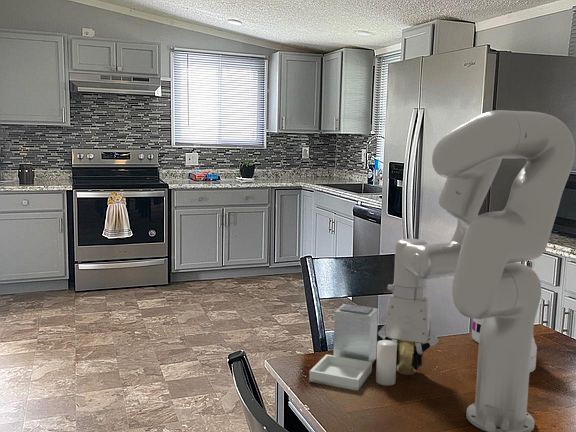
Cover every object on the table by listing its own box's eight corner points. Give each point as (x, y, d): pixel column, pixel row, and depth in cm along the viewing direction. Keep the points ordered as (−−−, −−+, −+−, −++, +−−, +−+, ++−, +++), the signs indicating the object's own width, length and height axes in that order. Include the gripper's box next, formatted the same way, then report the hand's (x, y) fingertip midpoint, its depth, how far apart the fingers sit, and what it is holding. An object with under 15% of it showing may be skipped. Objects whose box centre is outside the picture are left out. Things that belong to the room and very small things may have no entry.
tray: (357, 390, 126) (358, 379, 126) (309, 381, 131) (309, 370, 130) (371, 372, 137) (371, 362, 136) (326, 364, 141) (326, 354, 141)
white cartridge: (392, 386, 129) (394, 348, 127) (373, 383, 130) (375, 344, 129) (397, 379, 133) (399, 341, 131) (378, 376, 134) (380, 338, 133)
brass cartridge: (413, 376, 135) (415, 338, 134) (394, 372, 136) (396, 336, 135) (417, 369, 139) (418, 333, 138) (398, 366, 141) (400, 330, 139)
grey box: (368, 368, 139) (370, 314, 137) (333, 362, 142) (334, 309, 140) (376, 358, 145) (378, 306, 144) (342, 352, 149) (344, 302, 147)
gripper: (370, 291, 135) (367, 365, 137) (444, 300, 128) (439, 378, 131) (378, 284, 142) (375, 355, 144) (448, 292, 135) (444, 366, 138)
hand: (406, 365), depth 137 cm, fingers closed on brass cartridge, 4 cm apart
